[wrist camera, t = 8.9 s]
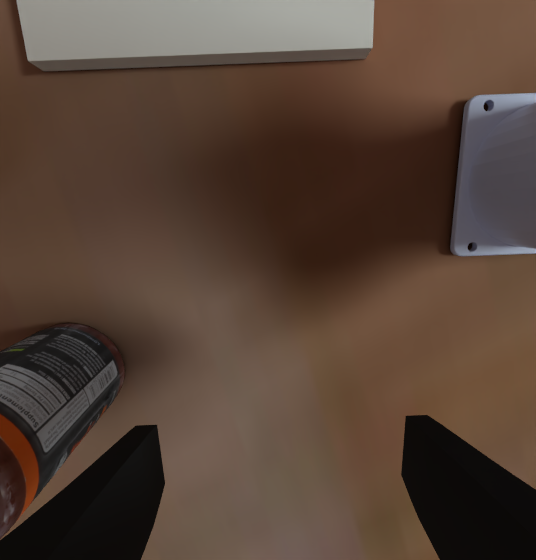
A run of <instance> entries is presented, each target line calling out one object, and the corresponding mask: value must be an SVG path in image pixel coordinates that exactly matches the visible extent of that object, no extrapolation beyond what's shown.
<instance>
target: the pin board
mask: <svg viewBox="0 0 536 560" xmlns="http://www.w3.org/2000/svg"><path fill="white" fill-rule="evenodd" d="M16 1H17V6H18V11H19V17H20V22H21V27H22V33H23V38H24V43H25V48H26V54H27V59H28V62H30V63H32V64H33V65H35V66H36V67H38V68H39V69H41V70H42V71H66V70H92V69H118V68H143V67H169V66H195V65H221V64H247V63H273V62H298V61H324V60H350V59H366V57H367V56H368V54H369V52H370V51H371V49H372V47H373V20H374V0H16Z"/></svg>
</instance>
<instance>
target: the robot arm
mask: <svg viewBox="0 0 536 560" xmlns="http://www.w3.org/2000/svg"><path fill="white" fill-rule="evenodd" d="M484 103H486V104H487V105H488V110H487V111H485V110H484V107H483V105H484ZM470 243H472V248H471V249H470V250H468V245H469V244H470ZM450 250H451V252H452V253H453V254H454V255H457V256H482V255H509V254H536V93H521V94H495V95H478V96H475V97H473V98H471V99H470V100H468V101H467V103H466V104H465V107H464V113H463V123H462V133H461V144H460V154H459V164H458V174H457V184H456V194H455V204H454V214H453V224H452V234H451V244H450ZM401 475H402V478H403V480H404V483H405V486H406V488H407V491H408V493H409V496H410V499H411V501H412V503H413V506H414V508H415V511H416V513H417V516H418V518H419V520H420V522H421V524H422V526H423V528H424V530H425V532H426V534H427V535H428V537H429V539H430V541H431V543H432V545H433V547H434V549H435V551H436V553H437V555H438V557H439V559H440V560H536V490H535V489H534V488H532V487H531V486H529V485H528V484H526V483H525V482H523V481H522V480H520V479H519V478H517V477H516V476H514V475H513V474H511V473H510V472H508V471H507V470H506V469H504V468H503V467H501V466H500V465H498V464H497V463H495V462H494V461H492V460H491V459H490V458H488V457H487V456H485V455H484V454H482V453H481V452H480V451H478V450H477V449H475V448H474V447H473V446H471V445H470V444H468V443H467V442H465V441H464V440H463V439H461V438H460V437H458V436H457V435H456V434H454V433H453V432H451V431H450V430H448V429H447V428H446V427H444V426H443V425H441V424H440V423H438V422H437V421H435V420H434V419H432V418H431V417H429V416H428V415H416V416H406V421H405V434H404V447H403V460H402V474H401ZM164 485H165V480H164V473H163V465H162V458H161V451H160V444H159V436H158V429H157V425H141V426H135V427H134V428H133V429H131V430H130V431H129V432H128V433H127V434H126V435H124V436H123V437H122V438H121V439H120V440H119V441H118V442H117V443H115V444H114V445H113V446H112V447H111V448H110V449H109V450H108V451H106V452H105V453H104V454H103V455H102V456H101V457H100V458H99V459H97V460H96V461H95V462H94V463H93V464H92V465H91V466H90V467H88V468H87V469H86V470H85V471H84V472H83V473H82V474H80V475H79V476H78V477H77V478H76V479H75V480H74V481H72V482H71V483H70V484H69V485H68V486H67V487H65V488H64V489H63V490H62V491H61V492H59V493H58V494H57V495H56V496H55V497H53V498H52V499H51V500H50V501H49V502H47V503H46V504H45V505H44V506H42V507H41V508H40V509H39V510H38V511H36V512H35V513H34V514H33V515H31V516H30V517H29V518H28V519H27V520H25V521H24V522H23V523H22V524H21V525H19V526H18V527H17V528H16V529H14V530H13V531H12V532H10V533H9V534H8V535H7V536H5V537H4V538H3V539H2V540H0V560H141V558H142V555H143V552H144V550H145V547H146V544H147V542H148V539H149V536H150V534H151V531H152V528H153V526H154V522H155V519H156V515H157V512H158V508H159V504H160V501H161V497H162V493H163V489H164Z"/></svg>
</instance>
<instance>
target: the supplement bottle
mask: <svg viewBox="0 0 536 560" xmlns="http://www.w3.org/2000/svg"><path fill="white" fill-rule="evenodd" d="M124 378H125V369H124V364H123V360H122V357H121V354H120V353H119V350H118V349H117V347H116V346H115V344H114V343H113V342H112V341H111V340H109V338H108V337H107V336H105V335H104V334H102V333H101V332H99V331H97V330H96V329H93V328H91V327H89V326H85V325H82V324H73V323H64V324H58V325H54V326H51V327H49V328H46V329H44V330H42V331H39V332H37V333H35V334H33V335H31V336H29V337H27V338H25V339H23V340H22V341H20V342H18V343H16V344H14V345H12V346H10V347H8V348H6V349H4V350H2V351H0V538H1V537H2V536H3V535H4V534H5V533H7V532H8V531H9V530H10V528H11V527H12V526H13V525H14V523H15V522H16V521H17V520H18V519H19V517H20V516H21V515H22V514H23V512H24V511H25V510H26V509H27V507H28V506H29V505H30V504H31V503H32V501H33V500H34V499H35V498H36V497H37V496H38V494H39V493H40V492H41V491H42V489H43V488H44V487H45V486H46V484H47V483H48V482H49V481H50V479H51V478H52V477H53V476H54V475H55V473H56V472H57V471H58V469H59V468H60V467H61V466H62V464H63V463H64V462H65V461H66V459H67V458H68V456H69V455H70V454H71V453H72V452H73V450H74V449H75V448H76V447H77V445H78V444H79V443H80V442H81V440H82V439H83V438H84V437H85V435H86V434H87V433H88V432H89V431H90V429H91V428H92V427H93V426H94V424H95V423H96V422H97V420H98V419H99V418H100V417H101V416H102V414H103V413H104V412H105V411H106V410H107V409H108V407H109V406H110V405H111V403H112V402H113V401H114V399H115V397H116V396H117V395H118V393H119V391H120V389H121V387H122V384H123V381H124Z"/></svg>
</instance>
